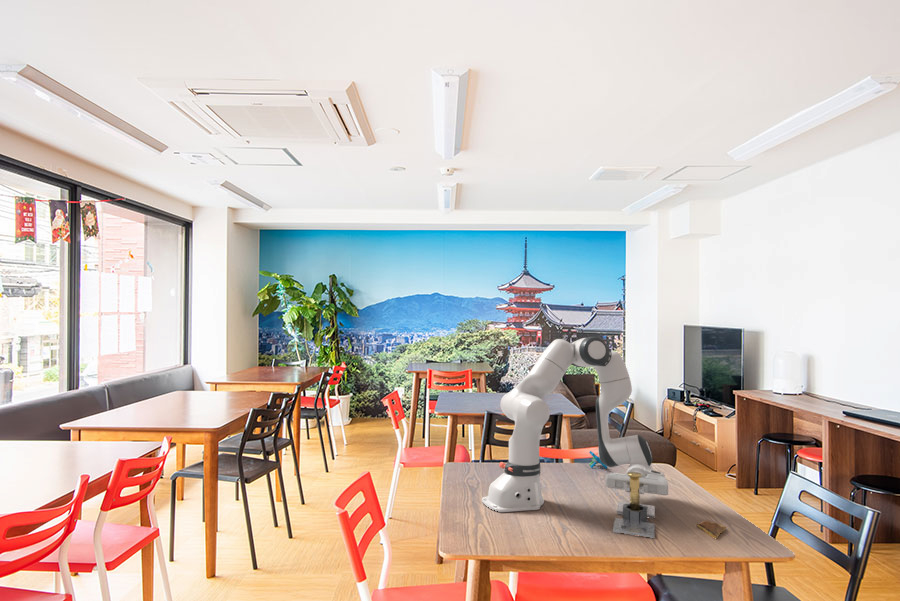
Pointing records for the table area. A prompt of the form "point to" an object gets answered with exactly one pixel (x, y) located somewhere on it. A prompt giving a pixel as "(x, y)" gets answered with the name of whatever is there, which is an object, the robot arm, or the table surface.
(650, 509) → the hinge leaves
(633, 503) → the hinge pin
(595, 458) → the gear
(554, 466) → the table surface
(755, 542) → the table surface
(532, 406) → the robot arm
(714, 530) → the shard
